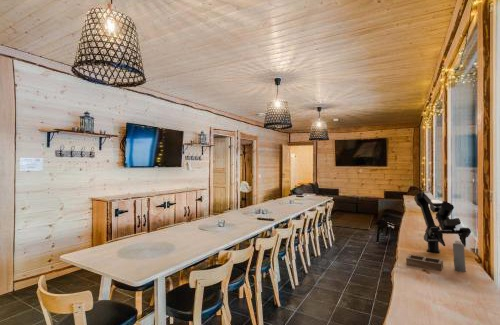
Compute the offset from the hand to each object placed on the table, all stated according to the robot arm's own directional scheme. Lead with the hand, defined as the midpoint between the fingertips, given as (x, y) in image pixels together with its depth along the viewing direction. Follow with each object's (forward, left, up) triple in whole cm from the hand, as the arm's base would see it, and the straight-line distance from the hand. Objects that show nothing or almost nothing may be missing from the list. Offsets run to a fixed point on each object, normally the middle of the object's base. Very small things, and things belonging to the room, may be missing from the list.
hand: (454, 246), depth 142 cm
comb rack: (+6, -13, -11) cm, 18 cm away
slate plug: (+4, +2, -11) cm, 12 cm away
